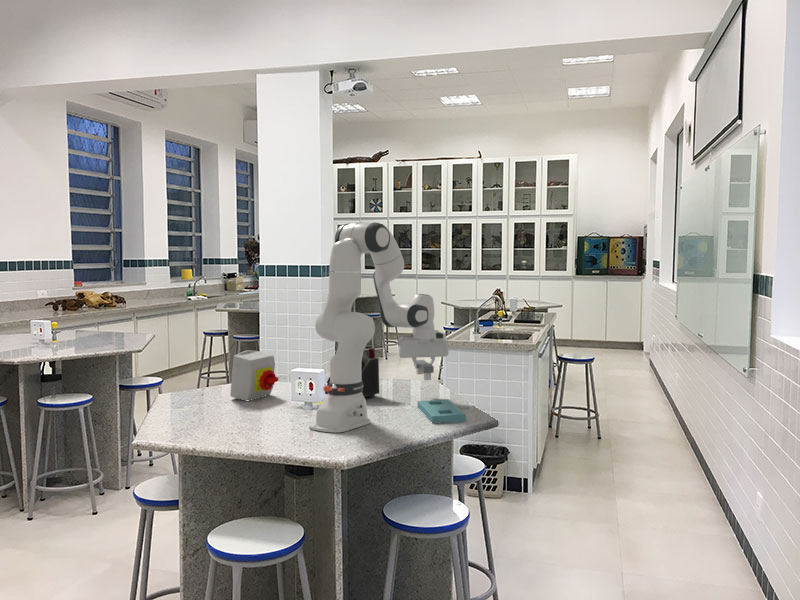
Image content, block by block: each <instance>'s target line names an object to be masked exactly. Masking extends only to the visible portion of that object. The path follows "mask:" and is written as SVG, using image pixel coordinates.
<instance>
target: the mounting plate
mask: <svg viewBox="0 0 800 600" xmlns="http://www.w3.org/2000/svg"><path fill="white" fill-rule="evenodd" d="M418 408H419V409H420V410H421V411H422V412H423V413H424V414H425V415H426V416H425V415H424V414H423V413H422V412H421V411H420V410H419V409H418ZM417 409H418V410H419V411H420V412H421V413H422V414H423V415H424V416H425V417H426V418H427V420H428V421H429V420H430V421H431V422H432V423H433V424H440V423H439V422H448V423H458V422H459V423H461V422H466V420H467V419H466V418H467V417H466V416H467V414H466V413H464V411H463V410H462V409H460V408H459V407H458V406H457V405H455V404H454V403H453V402H452V401H450V400H449V399H448V398H447V399H431V400H430V399H429V400H418V401H417ZM430 421H429V422H430ZM431 422H430V423H431ZM432 423H431V424H432Z"/></svg>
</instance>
